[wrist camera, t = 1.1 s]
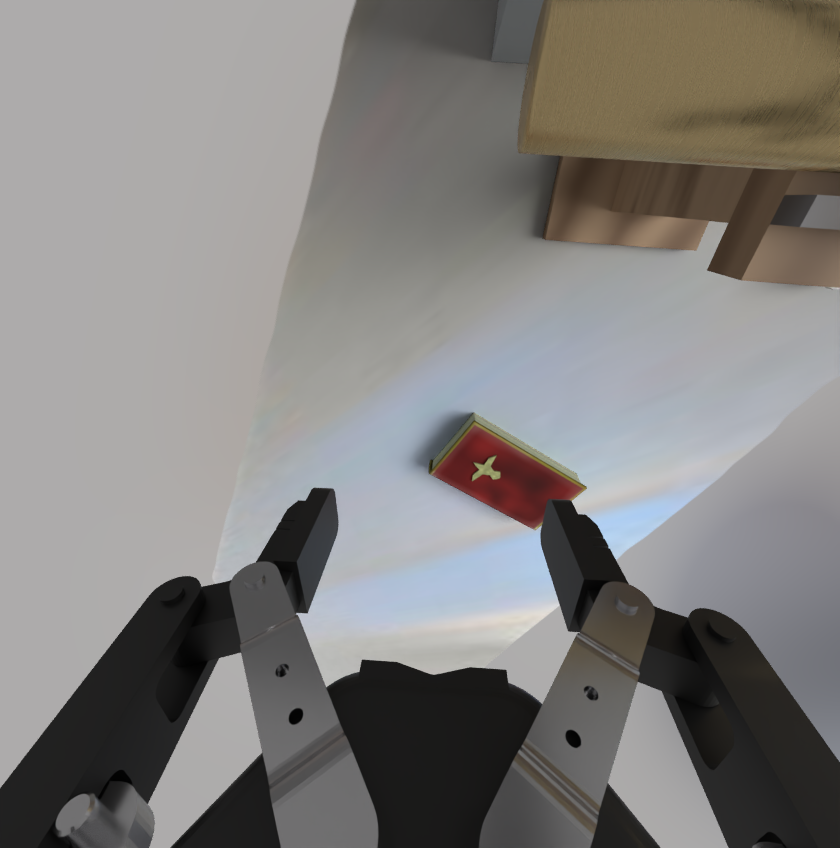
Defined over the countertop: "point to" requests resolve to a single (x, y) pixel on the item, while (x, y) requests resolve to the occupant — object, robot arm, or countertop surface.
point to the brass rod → (686, 82)
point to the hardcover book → (503, 472)
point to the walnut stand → (705, 214)
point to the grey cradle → (515, 30)
